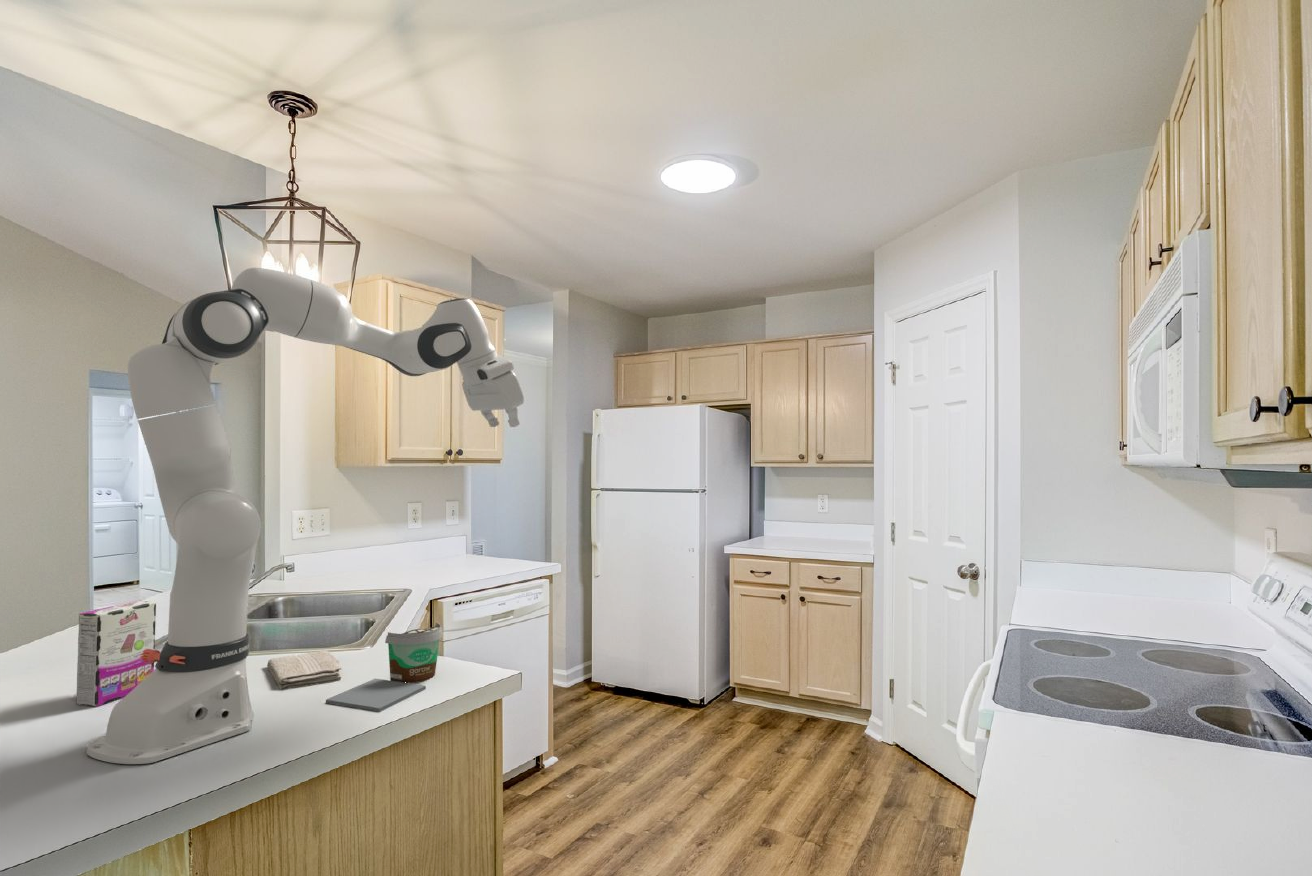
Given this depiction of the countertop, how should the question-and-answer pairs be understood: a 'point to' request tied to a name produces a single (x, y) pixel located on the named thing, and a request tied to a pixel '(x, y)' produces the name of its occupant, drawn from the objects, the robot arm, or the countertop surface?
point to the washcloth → (305, 669)
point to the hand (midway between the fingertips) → (505, 426)
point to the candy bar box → (114, 651)
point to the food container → (413, 654)
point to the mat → (376, 694)
